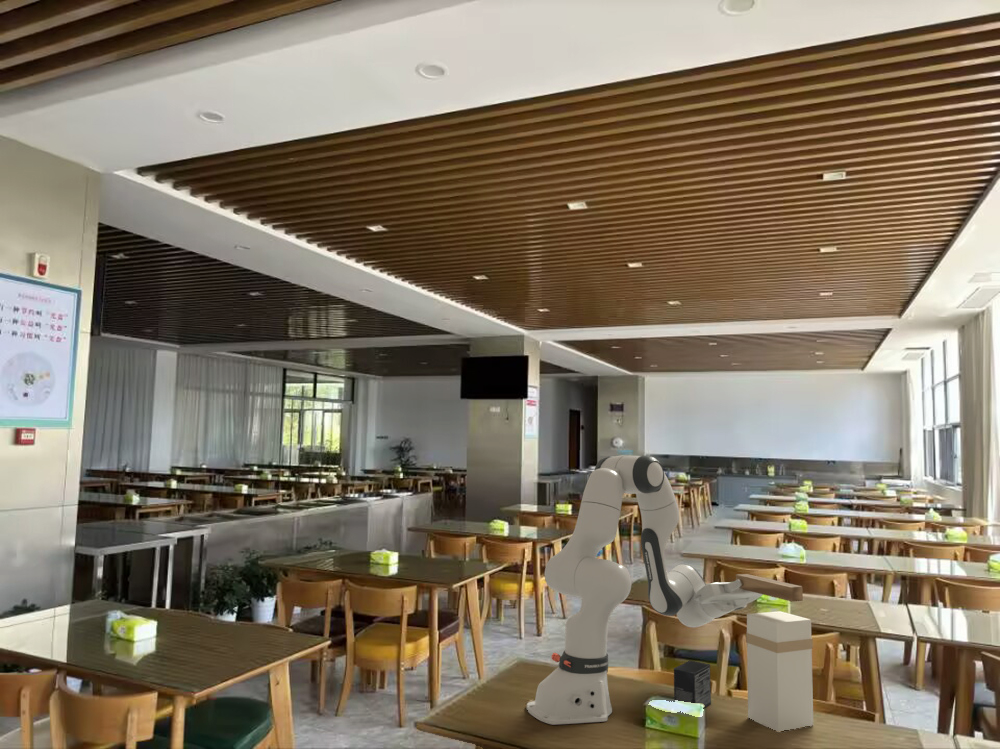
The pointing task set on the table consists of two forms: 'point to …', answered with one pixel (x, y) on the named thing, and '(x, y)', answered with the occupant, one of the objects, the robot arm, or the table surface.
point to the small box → (692, 683)
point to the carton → (779, 670)
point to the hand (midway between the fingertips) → (748, 581)
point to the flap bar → (771, 587)
